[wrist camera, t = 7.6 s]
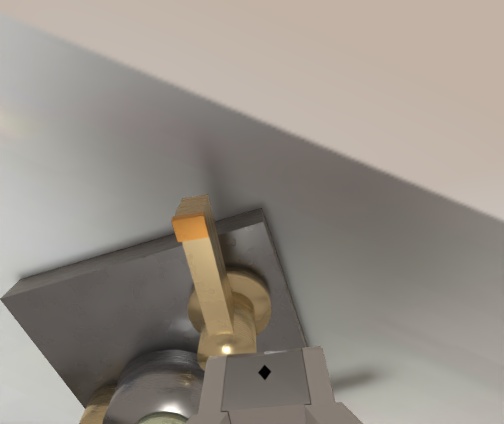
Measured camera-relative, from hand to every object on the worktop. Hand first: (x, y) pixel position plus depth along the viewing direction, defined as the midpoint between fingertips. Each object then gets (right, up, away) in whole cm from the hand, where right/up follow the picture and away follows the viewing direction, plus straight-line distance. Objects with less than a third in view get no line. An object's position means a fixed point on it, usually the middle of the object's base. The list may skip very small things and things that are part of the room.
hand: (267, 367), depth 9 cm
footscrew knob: (-2, +1, +11) cm, 11 cm away
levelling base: (-5, -8, +17) cm, 19 cm away
